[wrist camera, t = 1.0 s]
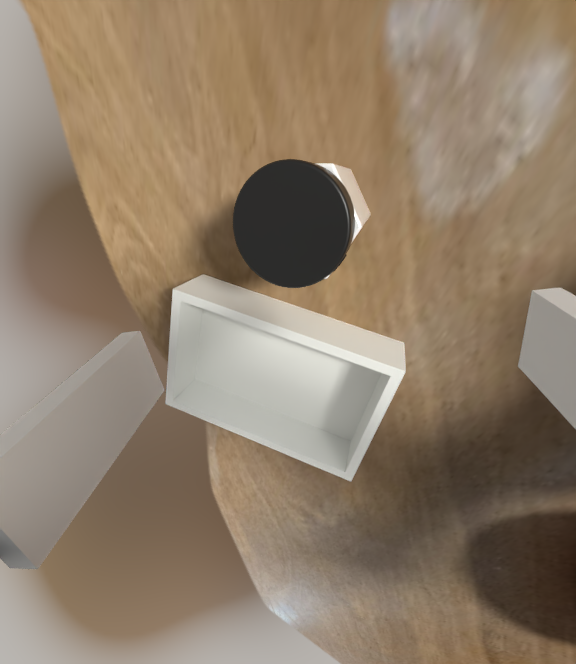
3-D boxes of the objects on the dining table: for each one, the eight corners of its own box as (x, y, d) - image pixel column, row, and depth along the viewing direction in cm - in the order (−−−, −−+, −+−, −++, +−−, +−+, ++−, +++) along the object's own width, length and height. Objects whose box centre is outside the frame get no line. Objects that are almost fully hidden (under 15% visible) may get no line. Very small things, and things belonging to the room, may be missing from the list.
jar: (280, 253, 35) (230, 284, 24) (279, 167, 31) (221, 159, 21) (366, 258, 32) (351, 295, 22) (375, 166, 29) (364, 158, 18)
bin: (404, 342, 35) (405, 371, 29) (356, 444, 42) (351, 481, 37) (203, 274, 38) (172, 288, 33) (191, 378, 46) (165, 403, 40)
